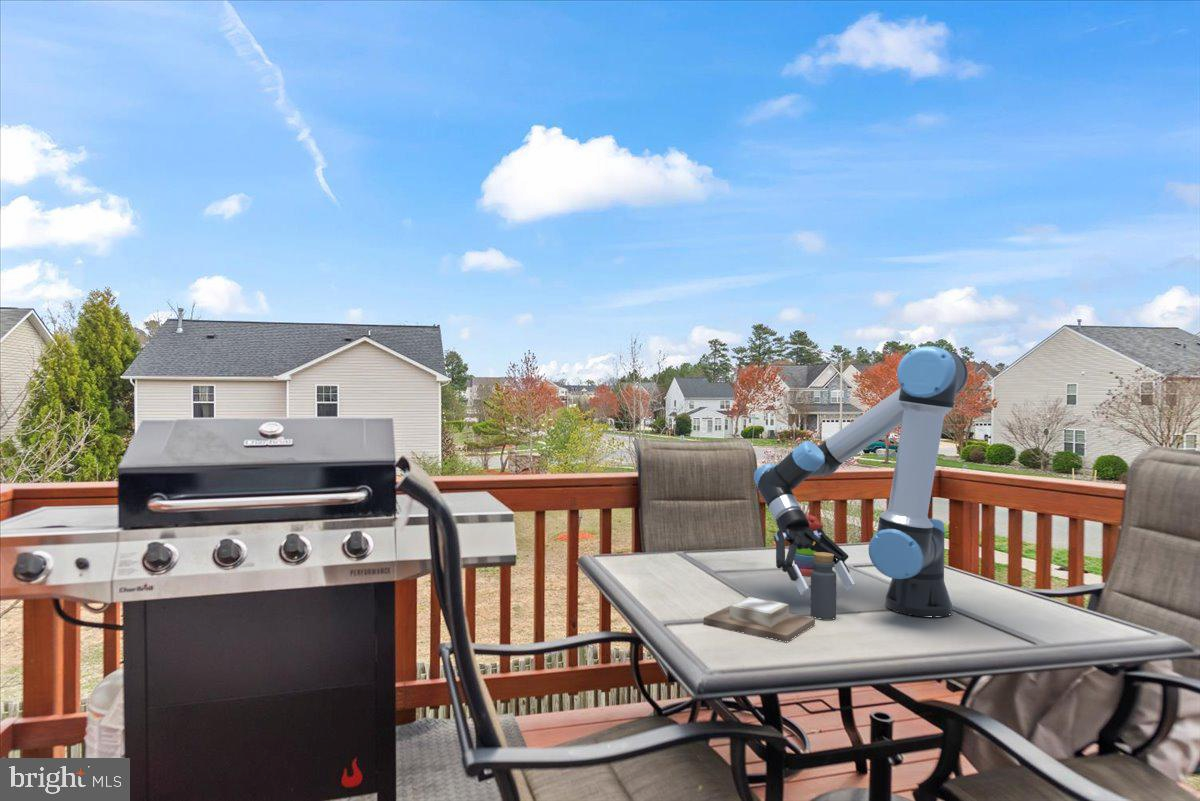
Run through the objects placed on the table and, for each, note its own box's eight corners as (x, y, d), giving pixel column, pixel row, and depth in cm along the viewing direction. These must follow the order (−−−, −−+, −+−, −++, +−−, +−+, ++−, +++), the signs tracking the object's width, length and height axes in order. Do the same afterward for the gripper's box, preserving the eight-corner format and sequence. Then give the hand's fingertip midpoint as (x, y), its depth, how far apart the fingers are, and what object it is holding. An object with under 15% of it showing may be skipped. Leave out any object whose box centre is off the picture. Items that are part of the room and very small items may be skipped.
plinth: (814, 625, 160) (815, 605, 160) (786, 642, 148) (787, 620, 148) (735, 609, 172) (735, 590, 173) (703, 624, 160) (703, 603, 160)
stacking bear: (832, 577, 208) (832, 517, 208) (798, 577, 208) (799, 517, 208) (820, 569, 219) (820, 512, 219) (788, 569, 219) (788, 512, 219)
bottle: (823, 621, 163) (823, 557, 163) (805, 615, 168) (805, 552, 169) (841, 618, 166) (841, 555, 166) (823, 612, 171) (823, 550, 171)
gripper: (821, 523, 187) (861, 593, 173) (742, 527, 177) (777, 602, 163) (835, 505, 182) (877, 576, 168) (754, 509, 173) (791, 584, 158)
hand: (828, 589), depth 166 cm, fingers open, 13 cm apart
